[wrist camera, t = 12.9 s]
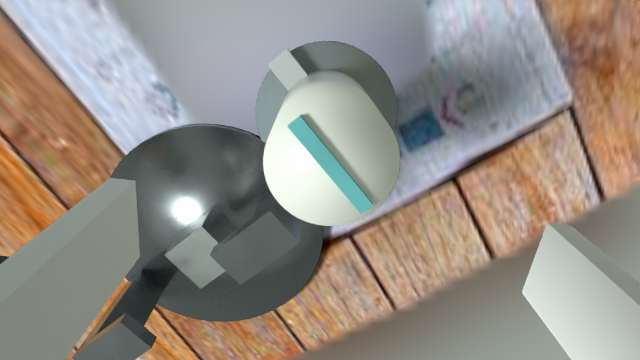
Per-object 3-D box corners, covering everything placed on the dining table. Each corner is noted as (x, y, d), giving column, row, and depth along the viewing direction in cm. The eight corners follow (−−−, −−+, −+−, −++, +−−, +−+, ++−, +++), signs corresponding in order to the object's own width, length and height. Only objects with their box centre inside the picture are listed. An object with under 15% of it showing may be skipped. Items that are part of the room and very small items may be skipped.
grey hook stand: (219, 74, 31) (176, 97, 21) (365, 243, 36) (382, 322, 27) (59, 213, 35) (-36, 284, 26) (212, 347, 41) (180, 446, 31)
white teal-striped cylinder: (242, 85, 30) (200, 122, 19) (315, 23, 29) (315, 25, 18) (335, 195, 34) (345, 279, 23) (405, 145, 32) (451, 209, 21)
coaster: (339, 8, 29) (339, 8, 29) (422, 125, 33) (424, 127, 32) (227, 102, 32) (225, 104, 31) (315, 202, 35) (315, 206, 34)
